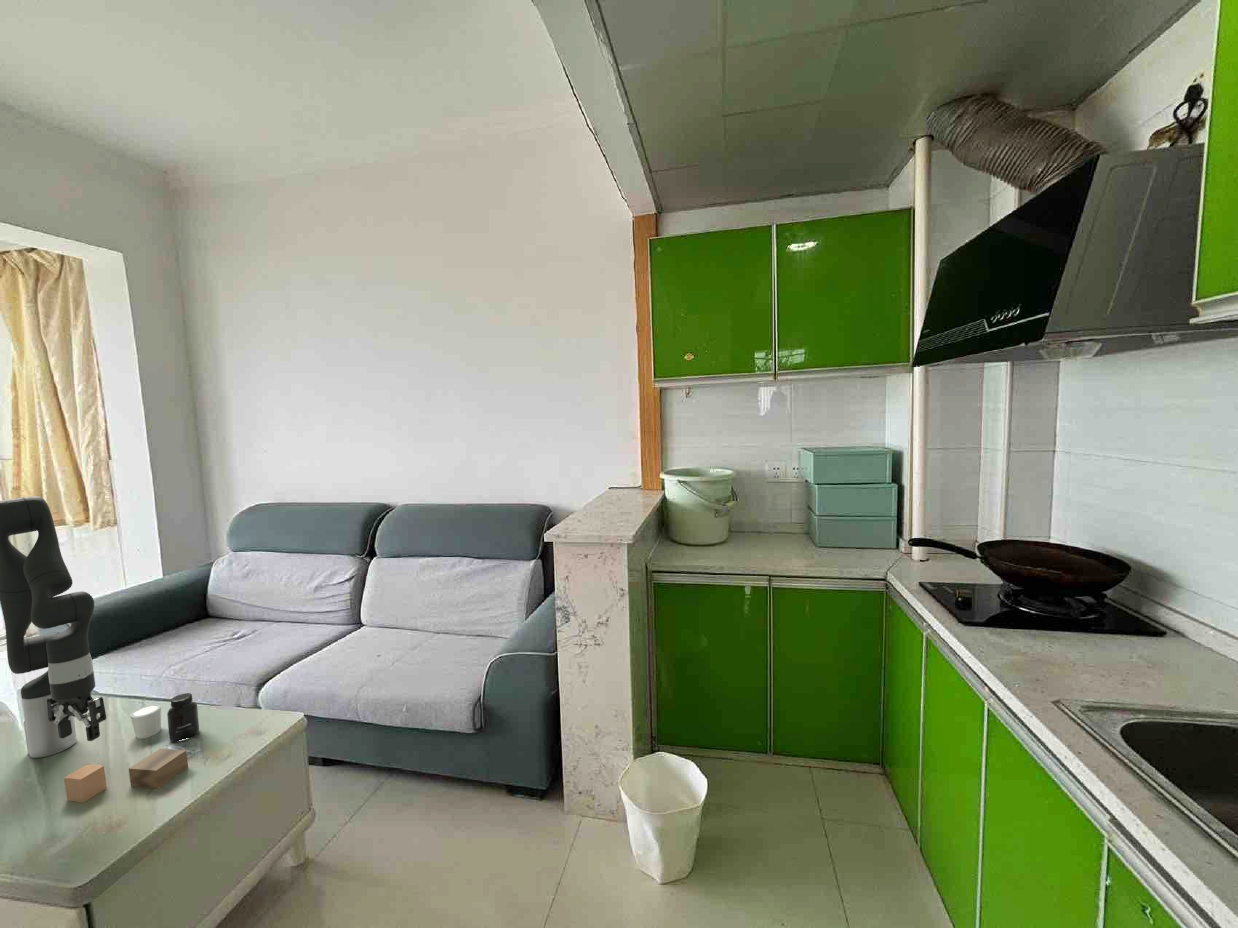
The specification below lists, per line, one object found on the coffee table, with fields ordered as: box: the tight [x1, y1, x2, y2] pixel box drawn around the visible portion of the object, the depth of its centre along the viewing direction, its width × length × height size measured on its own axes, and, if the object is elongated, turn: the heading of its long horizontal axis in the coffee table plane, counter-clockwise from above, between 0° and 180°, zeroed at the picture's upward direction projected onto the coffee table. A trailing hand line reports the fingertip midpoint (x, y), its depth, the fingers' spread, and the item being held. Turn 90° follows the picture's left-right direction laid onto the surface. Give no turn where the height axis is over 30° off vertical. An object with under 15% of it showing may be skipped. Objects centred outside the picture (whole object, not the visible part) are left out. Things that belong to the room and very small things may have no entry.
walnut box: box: [128, 748, 189, 789], centre depth 136 cm, size 8×8×5 cm
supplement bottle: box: [166, 692, 200, 743], centre depth 153 cm, size 7×7×12 cm
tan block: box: [63, 763, 108, 803], centre depth 130 cm, size 5×5×6 cm
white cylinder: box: [129, 704, 162, 739], centre depth 156 cm, size 7×7×7 cm
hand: (79, 737), depth 129 cm, fingers open, 8 cm apart
